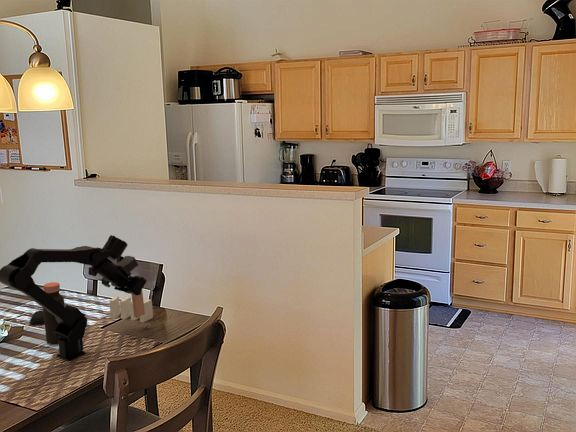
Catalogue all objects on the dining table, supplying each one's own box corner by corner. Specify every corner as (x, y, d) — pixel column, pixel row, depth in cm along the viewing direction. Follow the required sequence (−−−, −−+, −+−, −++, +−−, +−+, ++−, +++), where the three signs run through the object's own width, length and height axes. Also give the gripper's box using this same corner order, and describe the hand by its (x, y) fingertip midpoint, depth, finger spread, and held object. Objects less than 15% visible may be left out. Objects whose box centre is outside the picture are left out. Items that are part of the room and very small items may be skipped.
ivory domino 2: (132, 314, 215) (130, 296, 214) (125, 319, 210) (123, 301, 209) (128, 314, 216) (126, 296, 214) (121, 319, 211) (119, 301, 209)
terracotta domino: (145, 314, 202) (141, 287, 200) (137, 317, 199) (133, 290, 197) (142, 313, 203) (138, 286, 201) (134, 316, 200) (130, 290, 198)
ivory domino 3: (142, 315, 214) (141, 298, 212) (134, 320, 209) (133, 302, 208) (139, 315, 214) (138, 297, 213) (131, 320, 210) (129, 302, 208)
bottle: (59, 345, 188) (53, 288, 184) (42, 343, 190) (35, 286, 186) (72, 337, 194) (66, 282, 190) (55, 335, 196) (49, 280, 192)
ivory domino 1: (120, 313, 216) (118, 296, 215) (114, 318, 211) (113, 300, 210) (116, 313, 216) (114, 296, 215) (110, 318, 211) (109, 300, 210)
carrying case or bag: (28, 328, 205) (71, 323, 208) (27, 320, 204) (71, 315, 208) (34, 317, 215) (75, 313, 218) (33, 310, 214) (74, 305, 218)
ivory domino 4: (152, 317, 211) (151, 299, 210) (143, 322, 207) (142, 304, 206) (149, 317, 212) (148, 299, 211) (140, 321, 208) (138, 303, 207)
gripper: (140, 254, 187) (167, 278, 198) (105, 247, 198) (133, 269, 209) (122, 283, 182) (151, 306, 193) (88, 274, 193) (117, 295, 204)
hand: (138, 293), depth 200 cm, fingers closed on terracotta domino, 2 cm apart
